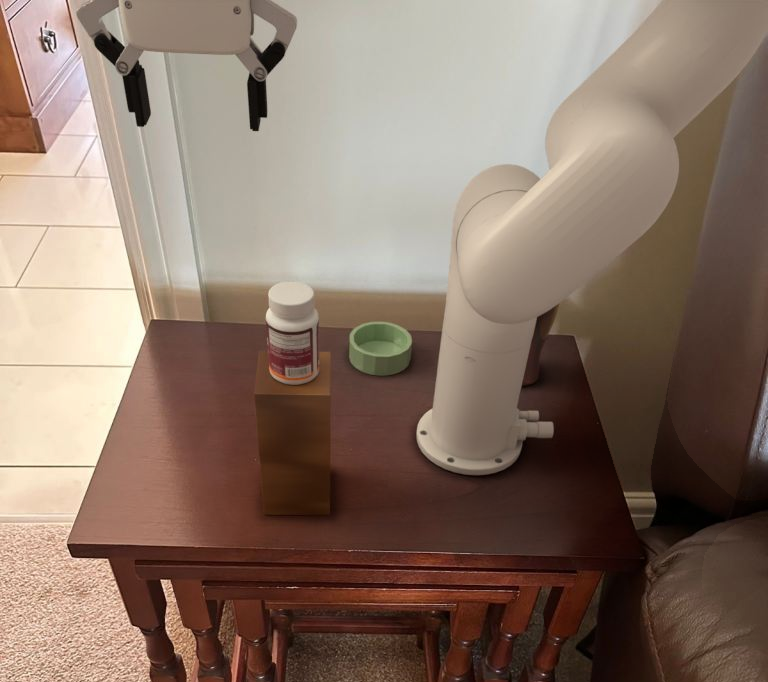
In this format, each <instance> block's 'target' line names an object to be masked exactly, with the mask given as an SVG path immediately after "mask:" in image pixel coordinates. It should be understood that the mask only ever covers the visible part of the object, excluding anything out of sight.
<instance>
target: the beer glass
mask: <svg viewBox="0 0 768 682" xmlns="http://www.w3.org/2000/svg"><path fill="white" fill-rule="evenodd" d="M560 303H561V302H560ZM560 303H559V304H557V305H556V306H555V307H553V308H552V309H550V310H549V311H547V312H545V313H544V314H542V315H540V316H538V317H537V320H536V325H535V329H534V334H533V338H532V341H531V345H530V350H529V355H528V359H527V364H526V368H525V373H524V377H523V382H522V386H521V387H528V386H531V385H533V384H534V383H535V382H537V381H538V379H539V376H540V361H541V360H540V358H541V354H542V351H543V349H544V345H545V343H546V342H547V339H548V336H549V334H550V332H551V330H552V329H553V326H554V322H555V320H556V318H557V315H558V311H559V307H560Z"/></svg>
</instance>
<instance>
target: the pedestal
mask: <svg viewBox="0 0 768 682" xmlns="http://www.w3.org/2000/svg"><path fill="white" fill-rule="evenodd" d="M331 357H332V353H331V351H319V372H318V375H317V376H316V377H315V378H314V379H313V380H311V381H309V382H307V383H304V384H299V385H290V384H285V383H282V382H280V381H278V380H276V379H275V378H273V376H272V375H271V373H270V369H269V355H268V350H259V351H258V358H257V366H256V373H255V374H256V375H255V382H254V389H253V390H254V391H253V398H254V410H255V423H256V435H257V436H256V437H257V445H258V446H257V447H258V458H259V470H260V483H261V493H262V495H261V496H262V508H263V515H264V516H330V515H331V406H332V405H331V404H332V403H331V394H332V393H331V391H332V390H331V389H332V388H331V387H332V386H331V383H332V382H331V379H332V377H331V376H332V375H331V373H332V371H331V370H332V368H331V366H332V362H331V361H332V358H331Z"/></svg>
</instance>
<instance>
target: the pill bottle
mask: <svg viewBox="0 0 768 682" xmlns="http://www.w3.org/2000/svg"><path fill="white" fill-rule="evenodd" d="M267 295H268V309H267V310H266V313H265V326H266V327H265V328H266V329H265V330H266V342H267V351H268V355H269V369H270V373H271V375H272V376H273V378H275V379H276V380H278V381H280V382H282V383H285V384H290V385H299V384H304V383H307V382H309V381H311V380H313V379H314V378H315V377H316V376H317V375H318V372H319V352H320V318H319V317H320V316H319V312H318V310H317V308H316V307H315V306H316V305H315V304H316V300H315V291H314V289H313V287H311V286H310V285H309V284H307V283H304V282H302V281H295V280H288V281H287V280H286V281H281V282H278V283H275V284H274V285H272V286H271V287H270V288H269V290H268V293H267Z"/></svg>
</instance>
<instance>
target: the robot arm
mask: <svg viewBox="0 0 768 682" xmlns="http://www.w3.org/2000/svg"><path fill="white" fill-rule="evenodd" d="M118 7H119V14H120V19H121V25H122V30H123V34H124V37H125V39H126V41H127V44H126V46H125V45H124V44H122V43H121V42H120V40H118V39H117V38H116V37H115V35H113V33H111V32H110V31H109V30H108V29H107V27H106V24H105V23H104V21H103V17H104V16H106V15H107V14H109V13H110V12H112V11H114V10H115V9H117V8H118ZM75 13H76V18H77V19H78V21H79V23H80V24H81V25H82V27H83V29H84V30H85V32H86V33H87V35H88V37H90V38H91V40H92V41H93V45H94V47H95V48H96V50H97V51H98V52H100V54H101V55H102V56H104V58H106V59H107V60H108V61H109V62H110V63H111V65H113V66H114V67H115V70H116V72H117V73H118V74H119V75H120V76H121V77H122V82H123V89H124V94H125V100H126V105H127V106H126V107H127V110H128V113H134V117H135V124H136V127H139V128H144V127H145V126H147V124H148V122H149V119H150V118H151V115H152V110H151V104H150V98H149V90H148V83H147V78H146V77H147V76H146V71H145V67H143V65H142V64H140V60H139V59H140V57H141V56H142V54H143V53H144V51H146V52H155V53H171V54H173V53H174V54H192V55H193V54H194V55H213V56H215V55H216V56H217V55H218V56H233V55H235V56H236V58H237V59H238V60H239V61H240V62H241V64H242V65H243V66H244V67H245V69H246V70H247V71H248V72H249V73H248V77H247V81H246V89H247V90H246V91H247V103H248V119H249V129H250V130H252V132H259V131H260V126H261V119H267V118H268V93H267V77H268V75H270V74H271V72H272V71H273V70H274V69H275V67H277V66H278V65H279V63H280V62H281V61H282V60H283V59H284V58H285V55H286V53H287V50H288V48H289V47H290V43H291V42H292V39H293V37H294V35H295V32H296V30H297V28H298V27H297V26H298V18H297V16H295V14H293V13H292V12H290V11H288V10H287V9H285V8H283V6H280V5H279V4H278V3H276V2H275V1H273V0H87V1H86V2H84V3H82V4H81V5H80V6H79V7H78V8H77V10H76V12H75ZM255 16H258V17H259V18H260V19H262V20H263V21H265V22H267V23H269V24H270V25H272V26H273V27H274V28H275V30H276V32H275V35H274V37H273V39H272V41H271V42H270V43H269V44H268V46H267V47H266V48H265V49H264V50H263V51H262V50H261V48H260V47H259V46H258V45H257V44H256V42H255V40H253V38H252V36H254V33H255ZM767 32H768V0H661V1H660V3H659V4H658V5H657V6H656V7H655V9H654V10H653V11H652V12H651V13H650V14H649V15H648V16H647V17H646V18H645V20H644V21H643V22H642V23H641V24H640V25H639V26H638V28H636V30H635V31H634V32H633V33H632V34H631V35H630V36H629V37H628V38H627V39H626V40H625V41H624V42H623V43H621V45H620V46H619V47H618V48H617V49H615V51H614V52H612V54H610V55H609V56H608V57H607V58H606V59H605V60H604V61H603V63H601V65H599V66H598V67H597V68H596V69H595V70H594V71H593V72H592V73H591V74H589V76H588V77H587V78H586V79H585V80H584V81H583V82H582V83H581V84H580V85H579V86H578V87H576V89H574V91H572V92H571V93H570V94H569V95H567V97H566V99H564V100H563V101H562V102H561V103H560V105H559V106H558V107H557V108H556V110H555V112H554V113H553V114H552V116H551V118H550V119H549V122H548V124H547V128H546V131H545V137H544V147H545V148H544V149H545V155H546V160H547V165H548V168H549V170H548V171H546V173H545V174H544V175H543V176H542V177H541V178H540V177H539V176H538V175H537V174H536V173H534V172H533V171H531V170H530V169H529V168H526V167H525V166H521V165H517V164H511V163H502V164H496V165H493V166H490V167H488V168H485V169H484V170H482V171H480V172H479V173H477V174H476V175H475V176H474V177H472V179H471V180H470V181H469V182H468V183H467V184H466V186H465V187H464V188H463V190H462V191H461V193H460V195H459V198H458V199H457V202H456V205H455V209H454V213H453V218H452V226H451V238H450V253H449V254H450V255H449V266H448V277H447V278H448V279H447V287H446V288H447V289H446V297H445V305H444V315H443V321H442V328H441V335H440V336H441V338H440V346H439V353H438V361H437V370H436V379H435V384H434V385H435V387H434V395H433V401H432V402H433V403H432V408H431V409H430V408H429V410H427V411H426V412H425V413H423V415H422V417H420V418H419V421H418V423H417V427H416V442H417V443H416V444H417V446H418V448H419V449H420V452H421V453H422V454H423V455H424V456H425V457H426V458H427V459H428V460H429V461H430V462H432V463H433V464H434V465H436V466H438V467H440V468H442V469H444V470H446V471H449V472H451V473H455V474H461V475H465V476H466V475H467V476H484V475H485V476H486V475H491V474H495V473H498V472H501V471H504V470H506V469H508V468H509V467H510V466H512V465H513V464H514V463H515V462H516V461H517V459H518V458H519V457H520V455H521V451H522V448H523V442H524V441H525V440H526V439H527V438H536V439H552V438H553V436H554V431H555V430H554V429H555V427H554V422H553V421H539V420H540V413H539V410H520V408H518V404H519V399H520V395H521V392H522V391H521V390H522V387H523V386H522V382H523V377H524V373H525V368H526V364H527V359H528V355H529V350H530V345H531V341H532V338H533V334H534V329H535V325H536V320H537V317H538V316H540V315H542V314H544V313H545V312H547V311H549V310H550V309H552V308H553V307H555V306H556V305H557V304H559V303H561V302H563V301H564V300H565V299H567V298H568V297H569V296H571V295H572V294H573V293H574V292H575V291H577V290H578V289H579V288H580V287H582V286H583V285H584V284H586V283H587V282H588V281H590V279H592V278H593V277H594V276H595V275H596V274H598V272H600V271H601V270H602V269H604V268H605V267H606V266H607V265H609V264H610V263H611V262H612V261H614V260H615V259H616V258H617V257H619V255H621V254H622V253H623V252H624V251H626V250H627V249H628V248H629V247H630V246H631V245H633V244H634V243H635V242H636V241H637V240H639V239H640V238H642V236H643V235H644V234H645V233H647V232H648V231H649V229H650V228H651V227H652V226H653V225H654V224H655V223H656V222H657V220H658V219H659V218H660V216H662V214H663V213H664V211H665V209H666V208H667V206H668V204H669V203H670V201H671V198H672V197H673V194H674V192H675V189H676V187H677V184H678V180H679V173H680V158H679V152H678V147H677V144H676V141H675V139H674V138H675V137H676V136H678V135H679V133H680V132H681V131H682V130H683V129H685V128H686V127H687V126H688V125H689V124H690V123H691V122H692V121H693V120H694V119H695V118H696V117H698V115H699V114H701V113H702V112H703V110H704V109H705V108H707V106H708V105H710V104H711V103H712V101H714V100H715V99H716V98H717V97H718V96H719V95H720V94H722V92H723V91H724V90H725V89H727V87H728V86H729V85H731V83H732V82H733V81H734V80H735V79H736V78H737V76H739V74H740V73H741V72H742V71H743V69H744V68H746V66H747V64H748V63H749V62H750V61H751V59H752V58H753V57H754V55H755V54H756V52H757V50H758V49H759V47H760V46H761V44H762V42H763V40H764V38H765V37H766V34H767ZM559 305H560V304H559Z"/></svg>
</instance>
